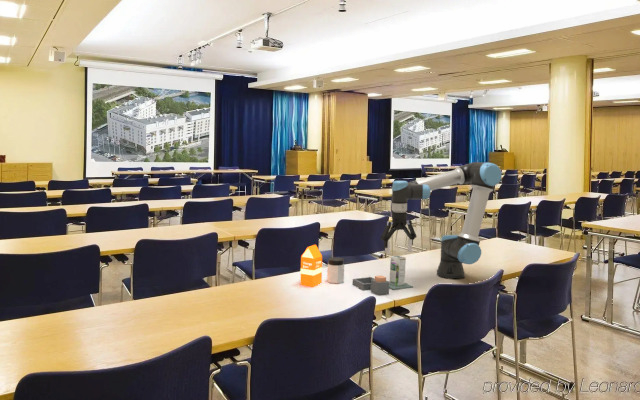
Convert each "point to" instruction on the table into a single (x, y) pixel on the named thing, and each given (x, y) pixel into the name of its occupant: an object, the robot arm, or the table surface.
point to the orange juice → (311, 267)
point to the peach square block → (380, 278)
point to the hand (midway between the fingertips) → (398, 252)
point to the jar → (335, 270)
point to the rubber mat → (400, 286)
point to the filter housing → (372, 285)
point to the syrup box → (397, 270)
